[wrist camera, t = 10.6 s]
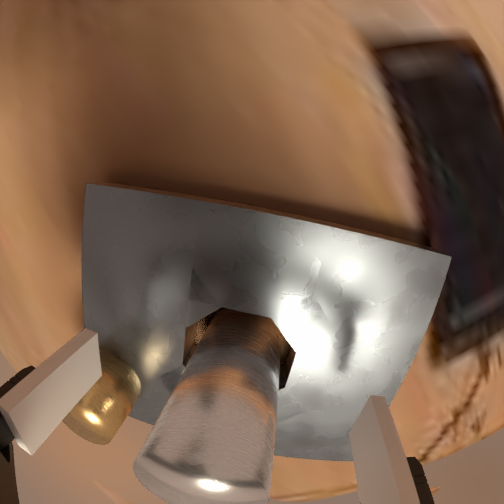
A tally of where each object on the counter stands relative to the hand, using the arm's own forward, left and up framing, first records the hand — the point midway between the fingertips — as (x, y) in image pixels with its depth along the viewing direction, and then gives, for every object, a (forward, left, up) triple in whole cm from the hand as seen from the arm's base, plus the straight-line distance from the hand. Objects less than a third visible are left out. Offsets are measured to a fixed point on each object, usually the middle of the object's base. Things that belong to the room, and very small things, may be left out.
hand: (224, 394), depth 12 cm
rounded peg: (0, 0, -6) cm, 6 cm away
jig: (0, 0, -6) cm, 6 cm away
